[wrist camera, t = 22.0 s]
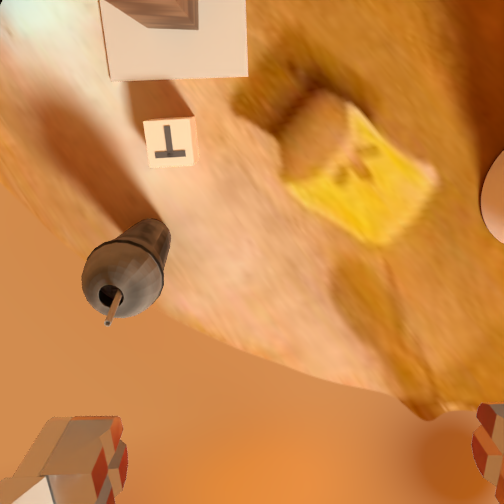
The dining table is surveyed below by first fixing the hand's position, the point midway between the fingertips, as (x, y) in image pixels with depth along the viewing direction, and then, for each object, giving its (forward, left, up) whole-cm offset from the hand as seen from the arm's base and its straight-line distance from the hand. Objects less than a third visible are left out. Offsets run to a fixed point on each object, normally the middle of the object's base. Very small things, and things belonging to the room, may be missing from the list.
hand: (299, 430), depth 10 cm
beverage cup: (+13, +8, -39) cm, 42 cm away
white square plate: (+8, -16, -39) cm, 43 cm away
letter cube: (+9, -3, -39) cm, 40 cm away
